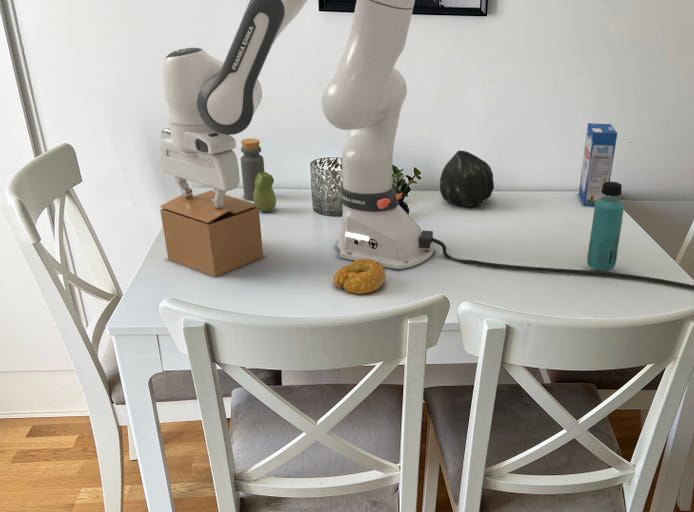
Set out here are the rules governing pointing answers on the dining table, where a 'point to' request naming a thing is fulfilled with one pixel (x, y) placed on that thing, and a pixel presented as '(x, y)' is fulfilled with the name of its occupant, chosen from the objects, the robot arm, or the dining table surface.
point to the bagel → (360, 276)
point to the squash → (466, 180)
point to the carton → (214, 237)
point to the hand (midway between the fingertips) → (202, 202)
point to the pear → (264, 192)
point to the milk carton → (597, 162)
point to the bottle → (250, 165)
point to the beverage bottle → (606, 228)
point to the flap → (196, 208)
